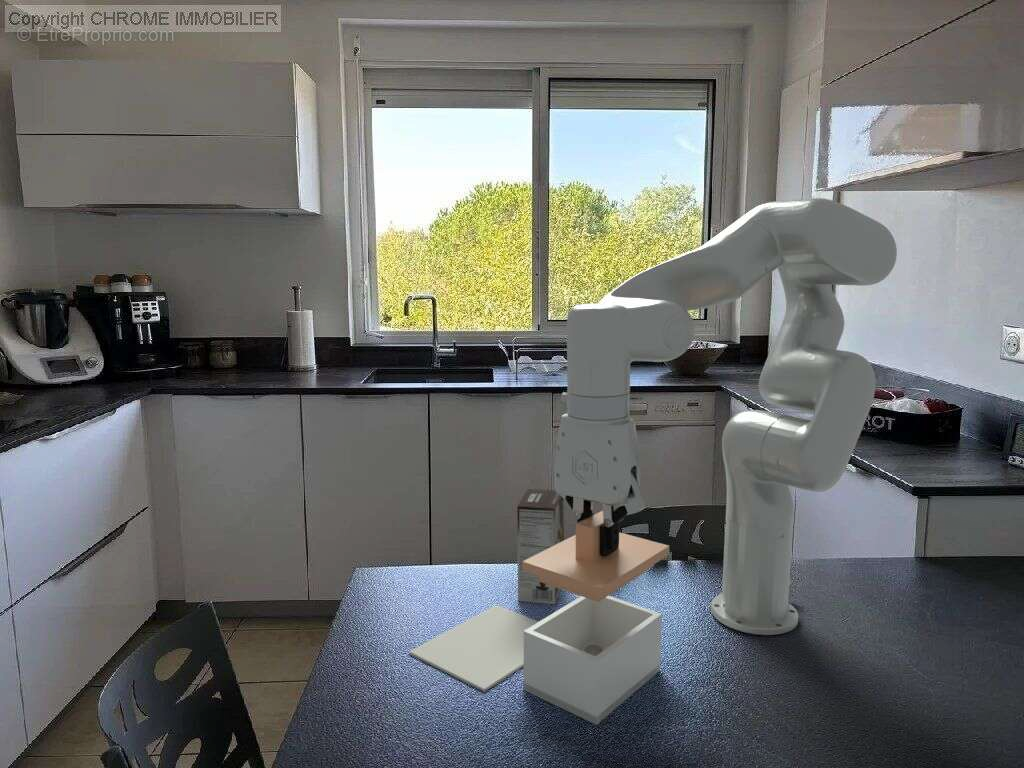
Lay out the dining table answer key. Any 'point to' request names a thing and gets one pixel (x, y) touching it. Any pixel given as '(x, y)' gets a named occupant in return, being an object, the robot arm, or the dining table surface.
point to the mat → (479, 647)
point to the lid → (594, 561)
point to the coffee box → (538, 540)
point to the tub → (592, 655)
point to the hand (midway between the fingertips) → (597, 548)
